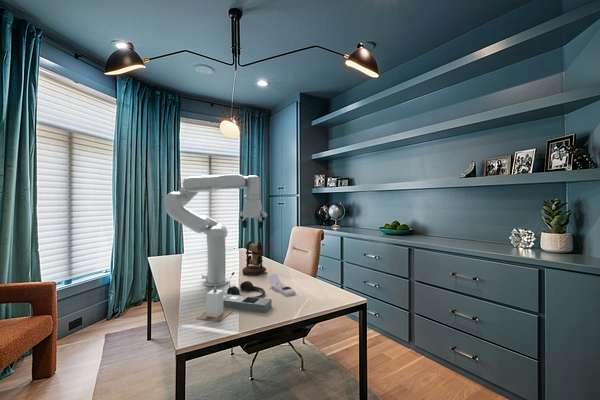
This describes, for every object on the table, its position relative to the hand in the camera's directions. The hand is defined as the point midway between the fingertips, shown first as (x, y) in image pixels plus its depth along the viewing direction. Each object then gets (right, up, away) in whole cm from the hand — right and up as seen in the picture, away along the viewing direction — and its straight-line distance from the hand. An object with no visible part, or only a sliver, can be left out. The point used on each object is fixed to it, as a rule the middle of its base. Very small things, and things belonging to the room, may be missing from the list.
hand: (252, 228), depth 152 cm
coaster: (-7, -30, -46) cm, 55 cm away
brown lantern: (-2, -31, +18) cm, 36 cm away
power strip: (+1, -30, -37) cm, 48 cm away
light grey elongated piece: (+17, -31, -15) cm, 38 cm away
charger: (-7, -29, -46) cm, 55 cm away
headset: (+1, -31, -22) cm, 38 cm away
